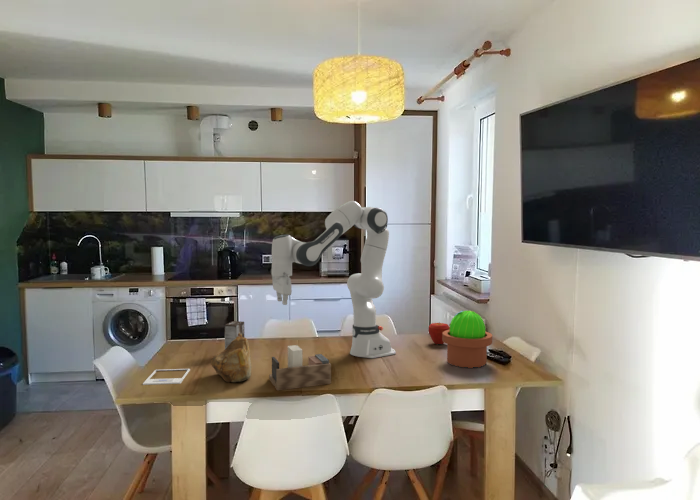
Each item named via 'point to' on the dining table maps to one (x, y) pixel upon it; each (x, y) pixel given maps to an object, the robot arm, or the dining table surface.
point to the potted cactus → (467, 340)
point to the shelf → (301, 374)
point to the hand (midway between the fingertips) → (282, 302)
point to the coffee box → (233, 331)
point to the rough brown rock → (234, 361)
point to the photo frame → (165, 381)
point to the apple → (437, 331)
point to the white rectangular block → (294, 356)
